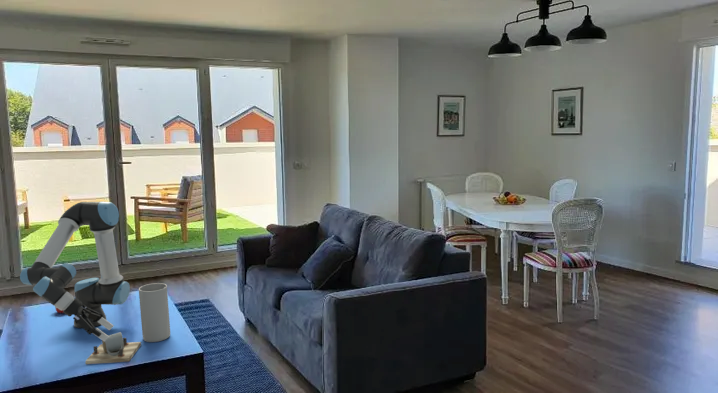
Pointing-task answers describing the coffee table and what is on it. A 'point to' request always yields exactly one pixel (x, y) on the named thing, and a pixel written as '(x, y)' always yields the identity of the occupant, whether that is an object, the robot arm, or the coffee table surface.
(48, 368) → the coffee table surface
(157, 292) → the cylinder vase
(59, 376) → the coffee table surface
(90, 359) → the post board
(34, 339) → the coffee table surface
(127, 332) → the coffee table surface
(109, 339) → the ceramic mug
